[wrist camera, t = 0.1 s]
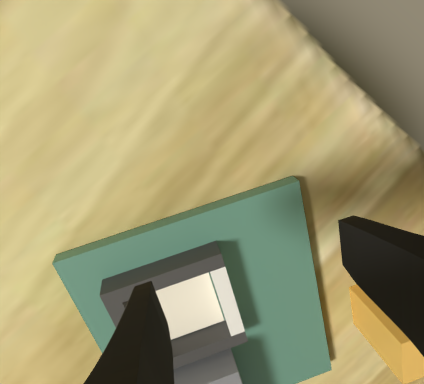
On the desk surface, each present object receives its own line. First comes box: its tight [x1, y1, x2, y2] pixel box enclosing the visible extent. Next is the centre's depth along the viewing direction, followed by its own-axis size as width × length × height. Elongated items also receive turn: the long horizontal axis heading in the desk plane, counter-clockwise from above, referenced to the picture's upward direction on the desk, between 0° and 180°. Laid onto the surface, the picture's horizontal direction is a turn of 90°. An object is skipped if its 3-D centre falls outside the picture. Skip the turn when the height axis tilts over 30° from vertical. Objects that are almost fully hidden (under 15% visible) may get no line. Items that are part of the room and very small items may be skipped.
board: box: [52, 176, 332, 384], centre depth 24 cm, size 18×16×4 cm
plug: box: [349, 284, 424, 384], centre depth 26 cm, size 4×4×7 cm
